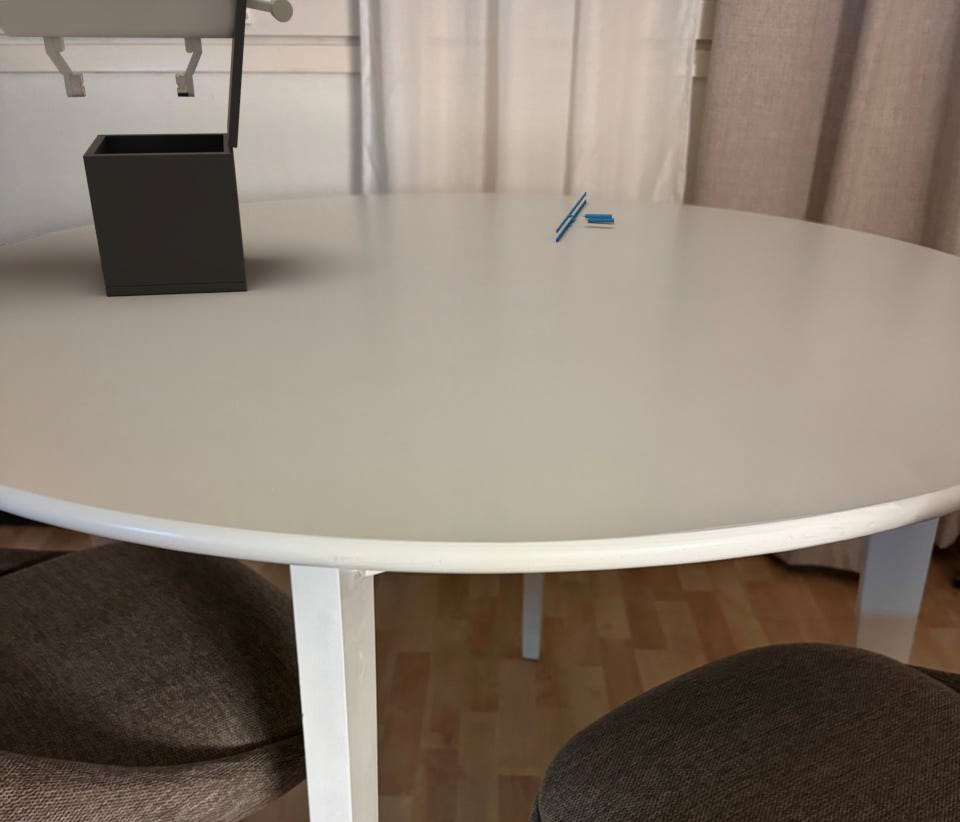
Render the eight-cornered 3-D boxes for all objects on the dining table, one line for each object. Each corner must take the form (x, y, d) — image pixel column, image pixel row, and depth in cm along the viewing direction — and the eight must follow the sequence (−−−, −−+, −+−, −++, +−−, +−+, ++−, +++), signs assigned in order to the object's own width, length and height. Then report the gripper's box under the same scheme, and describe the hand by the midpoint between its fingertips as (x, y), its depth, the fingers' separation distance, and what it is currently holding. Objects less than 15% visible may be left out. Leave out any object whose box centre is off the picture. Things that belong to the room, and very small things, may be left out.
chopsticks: (625, 191, 138) (585, 191, 139) (602, 229, 117) (556, 228, 118) (624, 203, 139) (585, 202, 140) (602, 243, 118) (555, 242, 119)
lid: (238, -34, 86) (298, -21, 87) (236, -34, 97) (289, -23, 98) (227, 146, 92) (283, 156, 94) (226, 127, 104) (276, 135, 105)
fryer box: (106, 296, 97) (82, 155, 91) (118, 261, 108) (97, 134, 102) (247, 290, 99) (233, 153, 93) (244, 257, 110) (231, 133, 104)
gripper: (-37, -97, 83) (2, 100, 90) (230, -90, 87) (247, 99, 94) (-22, -94, 88) (14, 93, 96) (229, -87, 92) (246, 92, 99)
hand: (132, 96), depth 95 cm, fingers open, 8 cm apart
